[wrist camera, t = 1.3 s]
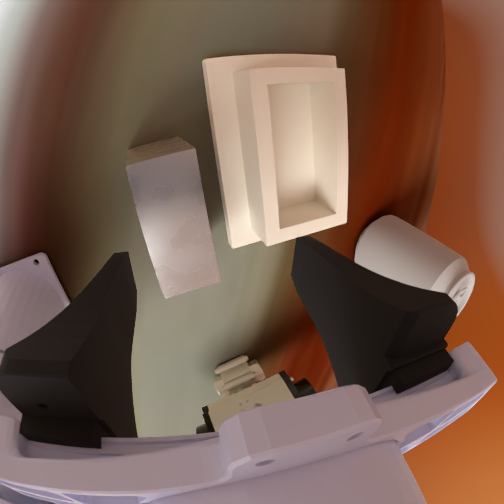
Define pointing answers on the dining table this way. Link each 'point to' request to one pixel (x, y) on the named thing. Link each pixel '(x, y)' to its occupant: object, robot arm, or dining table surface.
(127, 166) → the grey block
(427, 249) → the can
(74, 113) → the dining table surface
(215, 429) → the pneumatic valve
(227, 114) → the hollow block
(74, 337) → the robot arm
